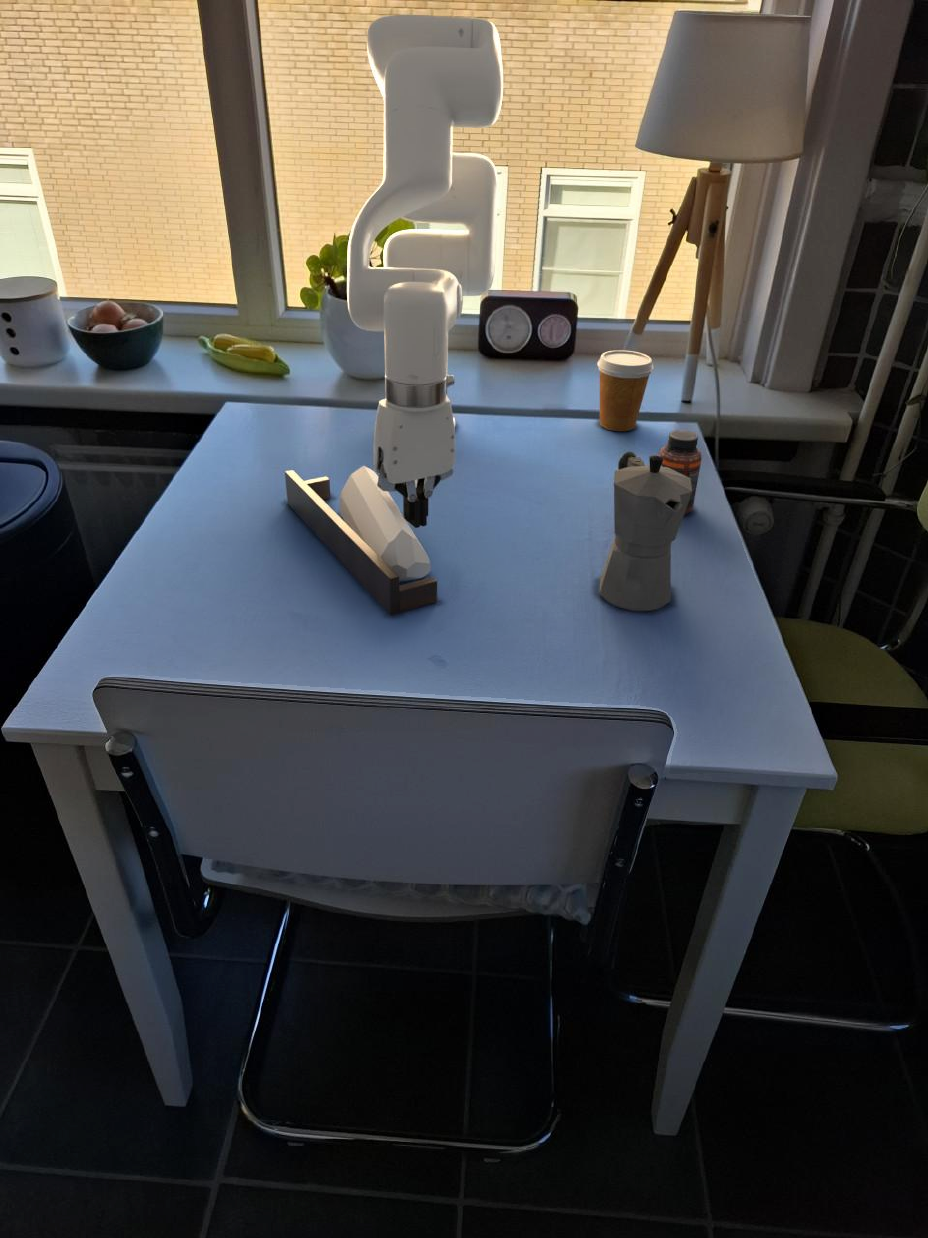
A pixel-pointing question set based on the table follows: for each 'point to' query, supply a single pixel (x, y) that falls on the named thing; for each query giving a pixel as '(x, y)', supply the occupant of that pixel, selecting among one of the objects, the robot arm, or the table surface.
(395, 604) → the frame
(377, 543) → the crystal
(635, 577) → the coffeepot
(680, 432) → the supplement bottle
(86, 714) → the table surface
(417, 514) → the robot arm
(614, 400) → the disposable coffee cup
